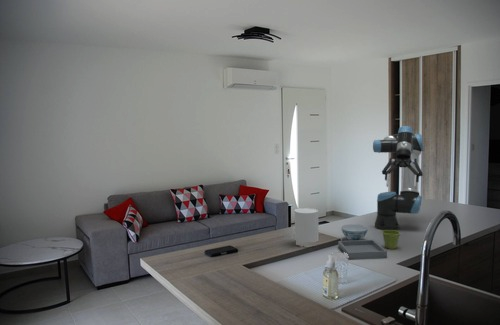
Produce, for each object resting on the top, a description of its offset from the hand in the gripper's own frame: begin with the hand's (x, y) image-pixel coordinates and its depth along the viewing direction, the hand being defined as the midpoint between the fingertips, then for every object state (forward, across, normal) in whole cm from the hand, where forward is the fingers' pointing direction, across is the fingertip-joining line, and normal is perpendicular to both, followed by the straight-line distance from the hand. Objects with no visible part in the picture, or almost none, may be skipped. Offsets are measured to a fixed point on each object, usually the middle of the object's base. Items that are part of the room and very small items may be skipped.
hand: (400, 186), depth 203 cm
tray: (+34, -18, +14) cm, 41 cm away
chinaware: (+23, -26, +31) cm, 46 cm away
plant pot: (+26, -5, +26) cm, 37 cm away
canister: (+32, -50, +18) cm, 62 cm away
